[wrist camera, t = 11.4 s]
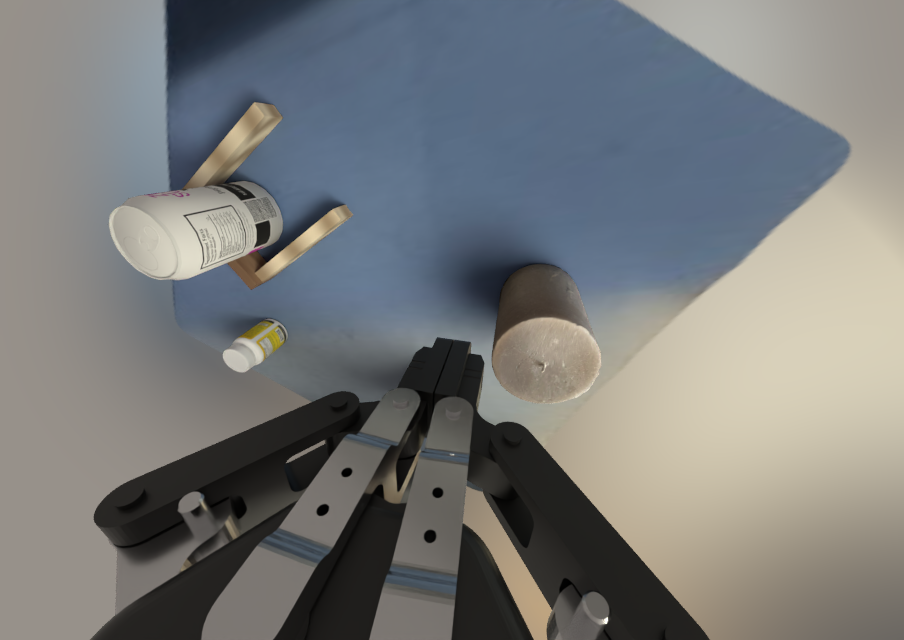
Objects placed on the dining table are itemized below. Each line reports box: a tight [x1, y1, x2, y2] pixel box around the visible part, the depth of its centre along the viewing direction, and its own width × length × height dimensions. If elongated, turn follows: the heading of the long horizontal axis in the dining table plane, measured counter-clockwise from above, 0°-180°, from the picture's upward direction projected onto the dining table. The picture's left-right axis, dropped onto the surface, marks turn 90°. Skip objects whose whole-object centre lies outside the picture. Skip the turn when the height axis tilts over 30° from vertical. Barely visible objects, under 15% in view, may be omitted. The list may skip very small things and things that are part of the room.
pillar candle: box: [492, 264, 601, 404], centre depth 35 cm, size 10×10×15 cm
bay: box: [182, 102, 353, 290], centre depth 40 cm, size 18×14×4 cm
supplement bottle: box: [223, 319, 288, 372], centre depth 49 cm, size 5×5×8 cm
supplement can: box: [109, 181, 283, 280], centre depth 37 cm, size 8×8×15 cm
